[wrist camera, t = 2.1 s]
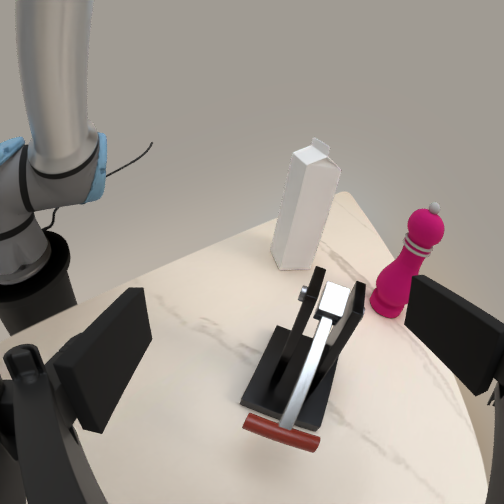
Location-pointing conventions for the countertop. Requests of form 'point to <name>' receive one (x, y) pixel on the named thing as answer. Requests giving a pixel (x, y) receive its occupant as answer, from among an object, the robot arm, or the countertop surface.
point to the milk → (304, 206)
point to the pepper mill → (407, 262)
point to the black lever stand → (302, 359)
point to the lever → (304, 376)
